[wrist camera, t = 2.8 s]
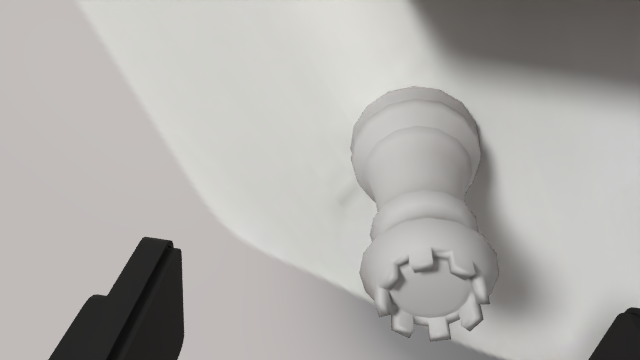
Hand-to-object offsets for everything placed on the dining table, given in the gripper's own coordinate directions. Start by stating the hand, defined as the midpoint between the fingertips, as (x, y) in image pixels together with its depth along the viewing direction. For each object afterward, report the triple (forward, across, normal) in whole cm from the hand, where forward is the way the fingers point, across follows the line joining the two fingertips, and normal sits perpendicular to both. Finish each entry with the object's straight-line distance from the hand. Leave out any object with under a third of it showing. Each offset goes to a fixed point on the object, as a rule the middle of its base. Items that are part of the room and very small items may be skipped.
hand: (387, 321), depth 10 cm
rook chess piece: (+9, -1, 0) cm, 9 cm away
